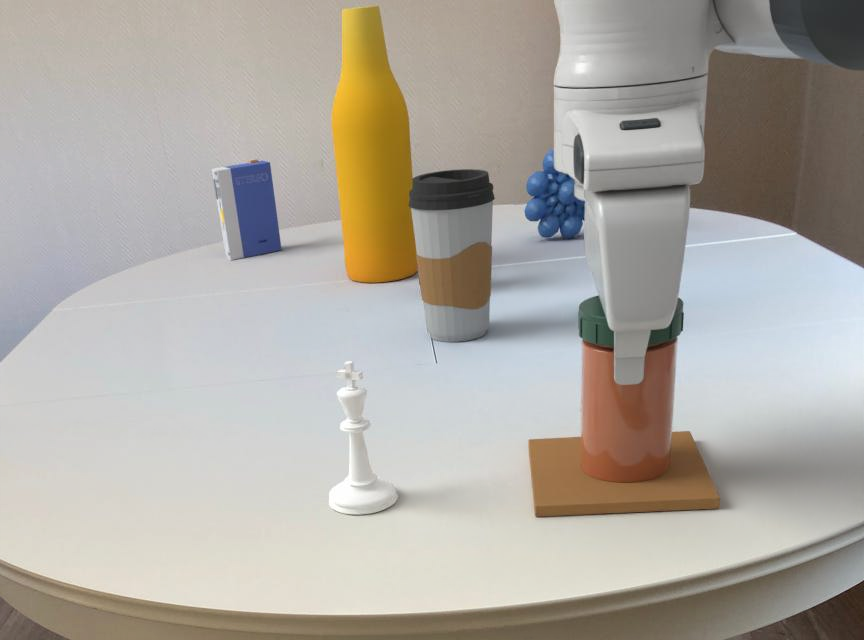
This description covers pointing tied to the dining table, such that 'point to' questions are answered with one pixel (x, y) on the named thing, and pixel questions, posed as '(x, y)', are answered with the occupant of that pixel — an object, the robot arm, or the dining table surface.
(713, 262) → the dining table surface
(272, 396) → the dining table surface
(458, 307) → the coffee cup
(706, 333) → the dining table surface
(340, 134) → the beer bottle
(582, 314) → the lid
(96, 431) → the dining table surface
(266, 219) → the walkman
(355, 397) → the chess piece
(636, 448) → the jar
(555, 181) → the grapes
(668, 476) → the mat
